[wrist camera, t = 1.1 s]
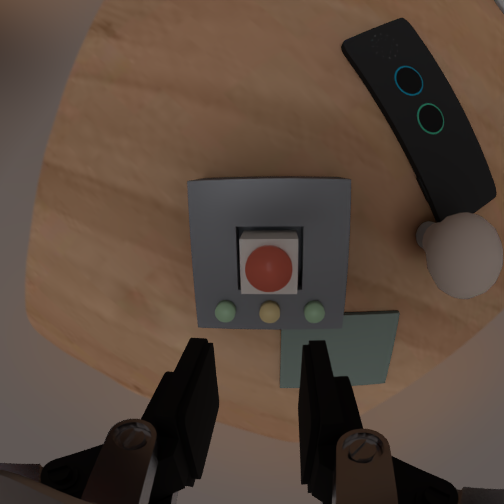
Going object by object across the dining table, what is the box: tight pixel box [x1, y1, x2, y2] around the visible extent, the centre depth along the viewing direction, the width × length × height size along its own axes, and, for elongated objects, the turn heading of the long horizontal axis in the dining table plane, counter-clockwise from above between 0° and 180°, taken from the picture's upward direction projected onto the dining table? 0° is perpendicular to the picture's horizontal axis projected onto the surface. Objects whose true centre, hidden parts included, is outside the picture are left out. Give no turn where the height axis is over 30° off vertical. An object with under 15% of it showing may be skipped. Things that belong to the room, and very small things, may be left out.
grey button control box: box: [187, 176, 351, 329], centre depth 26 cm, size 12×12×6 cm
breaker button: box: [239, 230, 298, 294], centre depth 23 cm, size 4×4×4 cm
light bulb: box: [416, 212, 503, 299], centre depth 22 cm, size 7×7×11 cm
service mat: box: [280, 311, 400, 388], centre depth 31 cm, size 12×9×1 cm
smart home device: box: [341, 18, 496, 222], centre depth 24 cm, size 8×2×20 cm
